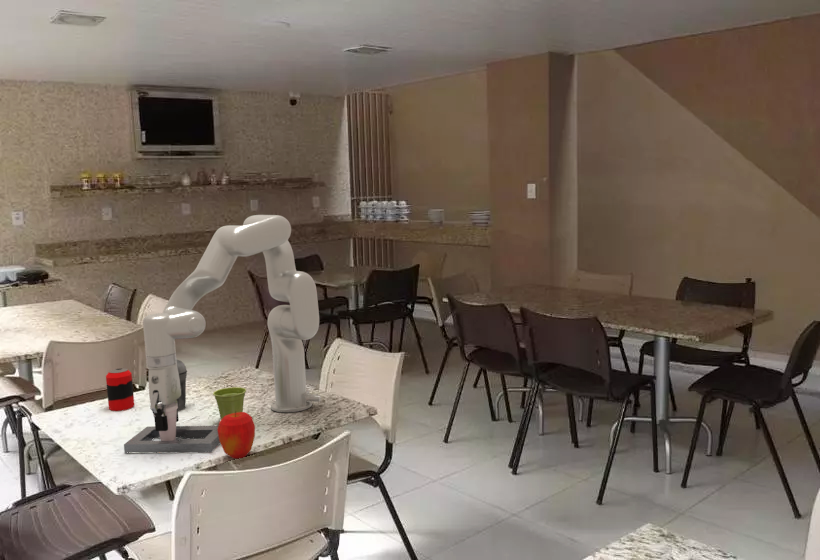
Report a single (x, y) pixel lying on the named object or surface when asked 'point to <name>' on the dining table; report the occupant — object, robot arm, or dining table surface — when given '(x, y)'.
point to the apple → (236, 434)
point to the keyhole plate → (175, 440)
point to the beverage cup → (182, 384)
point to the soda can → (120, 389)
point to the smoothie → (170, 423)
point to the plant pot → (229, 400)
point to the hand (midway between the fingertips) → (167, 425)
